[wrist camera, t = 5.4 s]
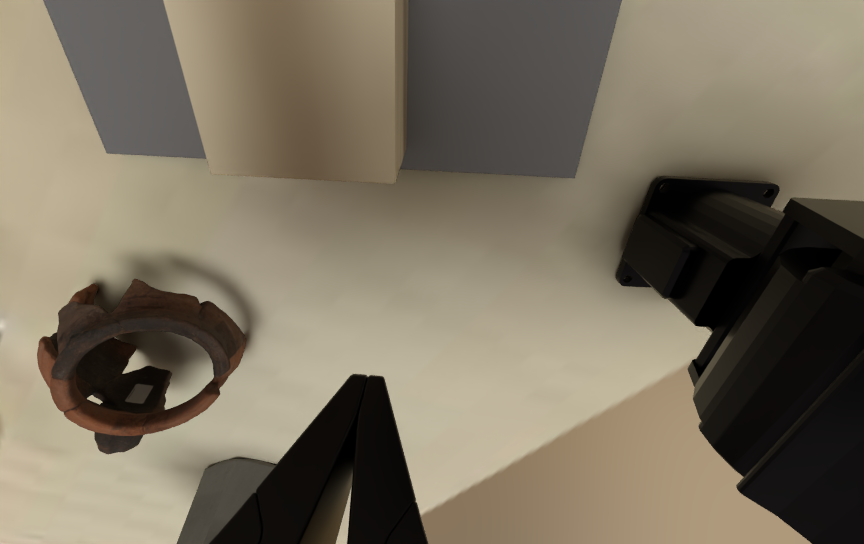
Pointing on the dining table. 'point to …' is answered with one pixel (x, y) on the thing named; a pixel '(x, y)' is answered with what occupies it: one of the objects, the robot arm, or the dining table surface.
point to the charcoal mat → (426, 80)
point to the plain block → (297, 85)
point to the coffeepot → (221, 497)
